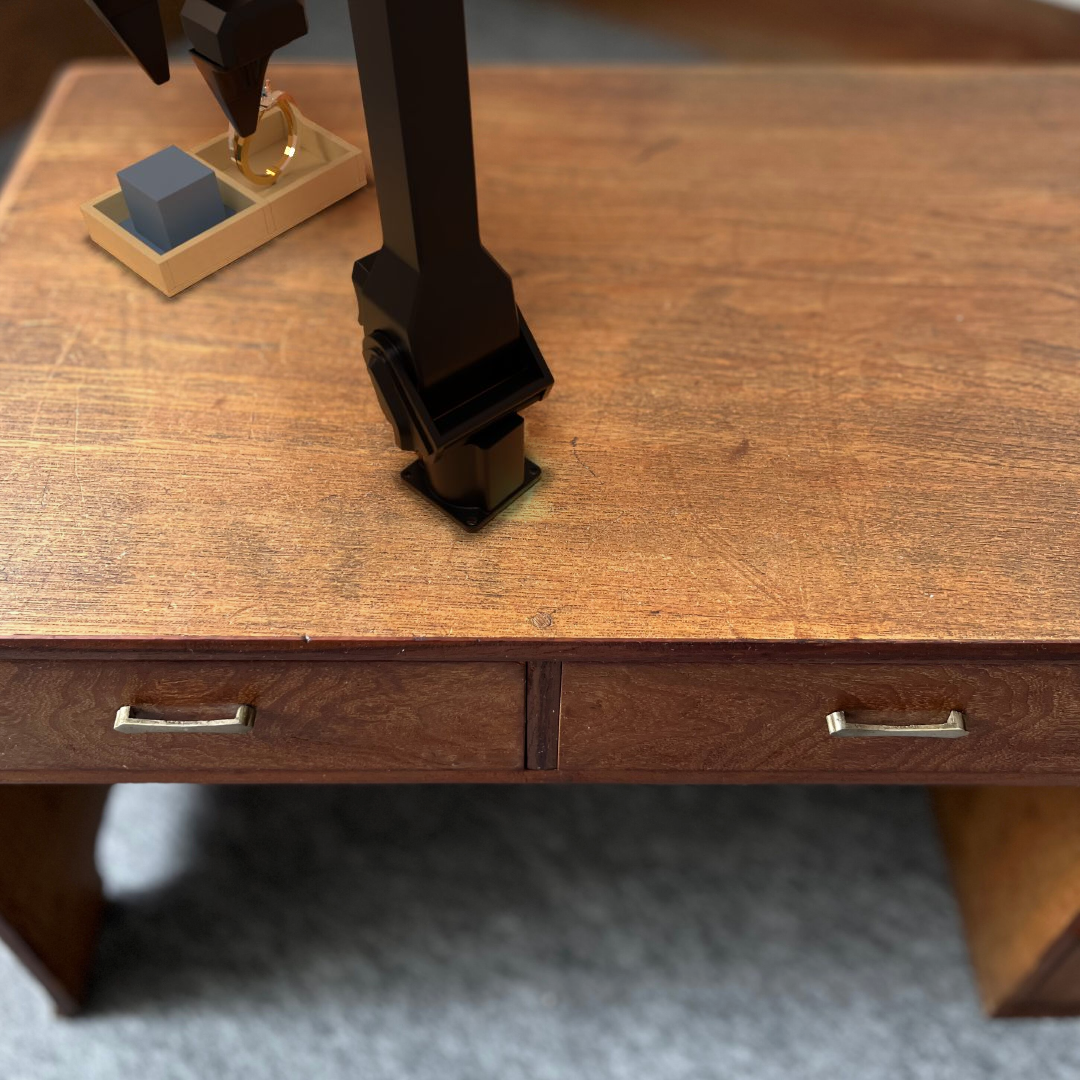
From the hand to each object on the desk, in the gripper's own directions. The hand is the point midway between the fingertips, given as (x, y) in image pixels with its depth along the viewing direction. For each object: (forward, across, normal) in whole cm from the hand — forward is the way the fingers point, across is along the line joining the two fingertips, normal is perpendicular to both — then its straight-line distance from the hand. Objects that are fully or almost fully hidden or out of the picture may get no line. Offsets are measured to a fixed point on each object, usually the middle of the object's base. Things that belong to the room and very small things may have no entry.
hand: (204, 107), depth 71 cm
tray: (+12, +5, -3) cm, 13 cm away
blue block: (+11, +5, +2) cm, 12 cm away
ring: (+12, +5, -8) cm, 15 cm away
